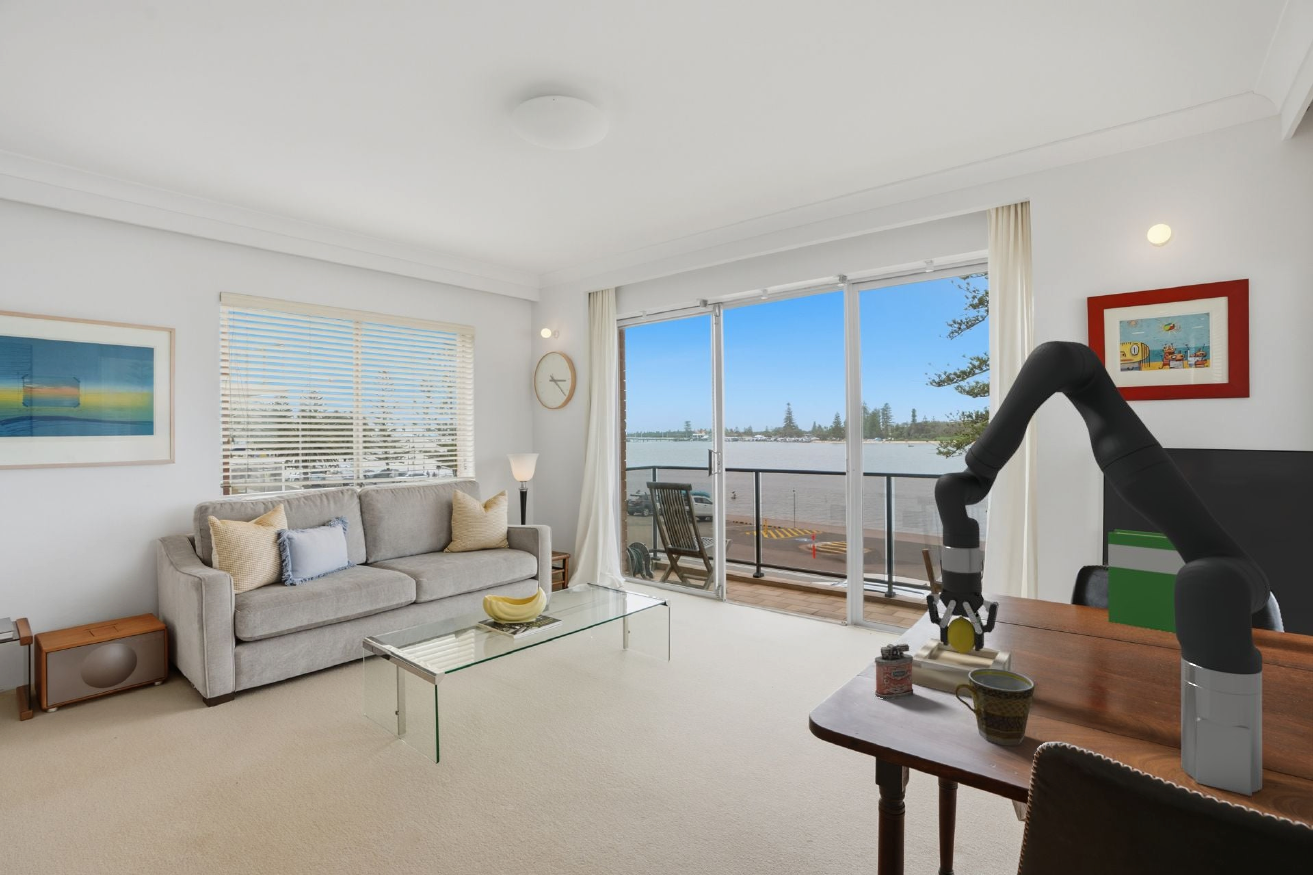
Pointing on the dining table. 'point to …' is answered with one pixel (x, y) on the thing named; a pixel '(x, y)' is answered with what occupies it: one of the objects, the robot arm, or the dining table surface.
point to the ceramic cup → (999, 704)
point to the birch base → (947, 678)
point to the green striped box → (1142, 579)
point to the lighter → (894, 672)
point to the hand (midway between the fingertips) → (962, 647)
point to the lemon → (961, 635)
